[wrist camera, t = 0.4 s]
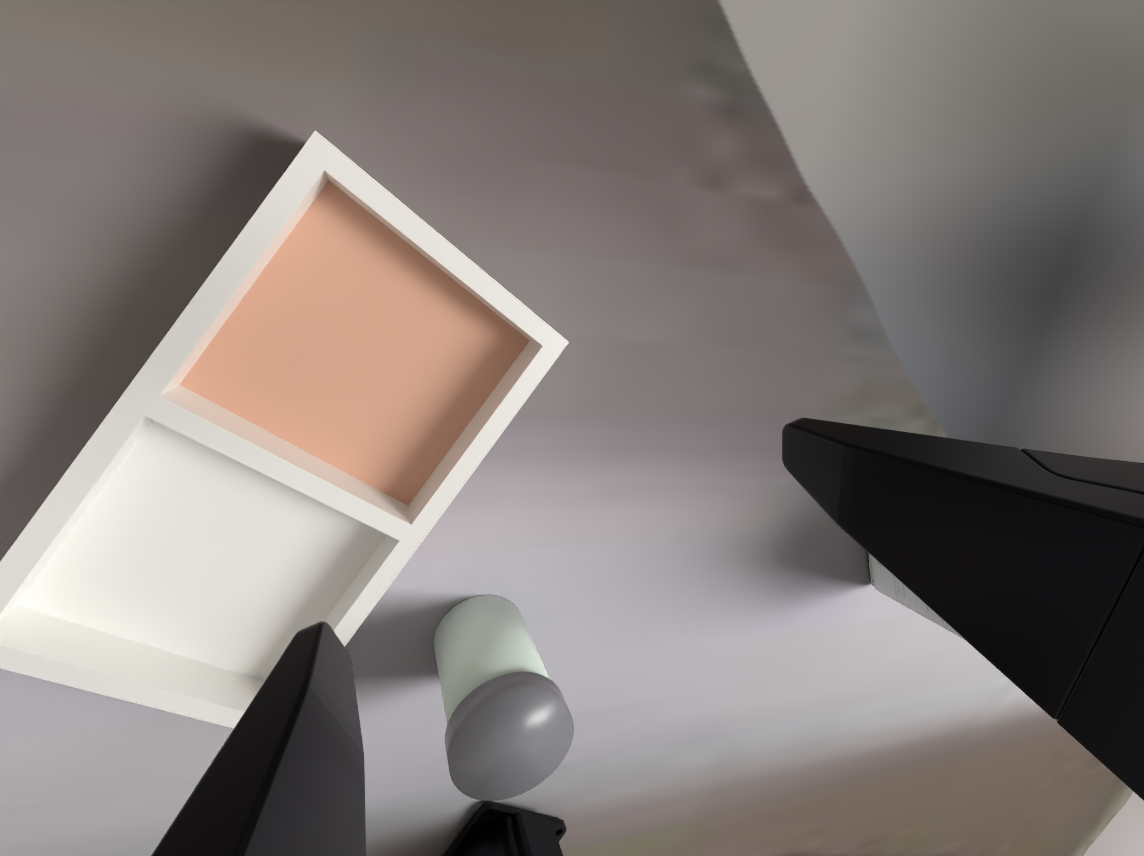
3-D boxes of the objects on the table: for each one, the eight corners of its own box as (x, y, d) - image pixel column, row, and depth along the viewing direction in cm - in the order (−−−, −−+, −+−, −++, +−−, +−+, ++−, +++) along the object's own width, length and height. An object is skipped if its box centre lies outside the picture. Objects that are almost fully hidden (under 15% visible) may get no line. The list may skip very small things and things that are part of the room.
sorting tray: (285, 694, 23) (276, 739, 21) (-12, 605, 18) (-66, 651, 16) (549, 335, 23) (568, 342, 21) (322, 148, 18) (315, 130, 16)
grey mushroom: (489, 687, 27) (525, 811, 21) (409, 657, 25) (421, 785, 19) (544, 613, 27) (596, 714, 21) (469, 576, 25) (502, 677, 19)
